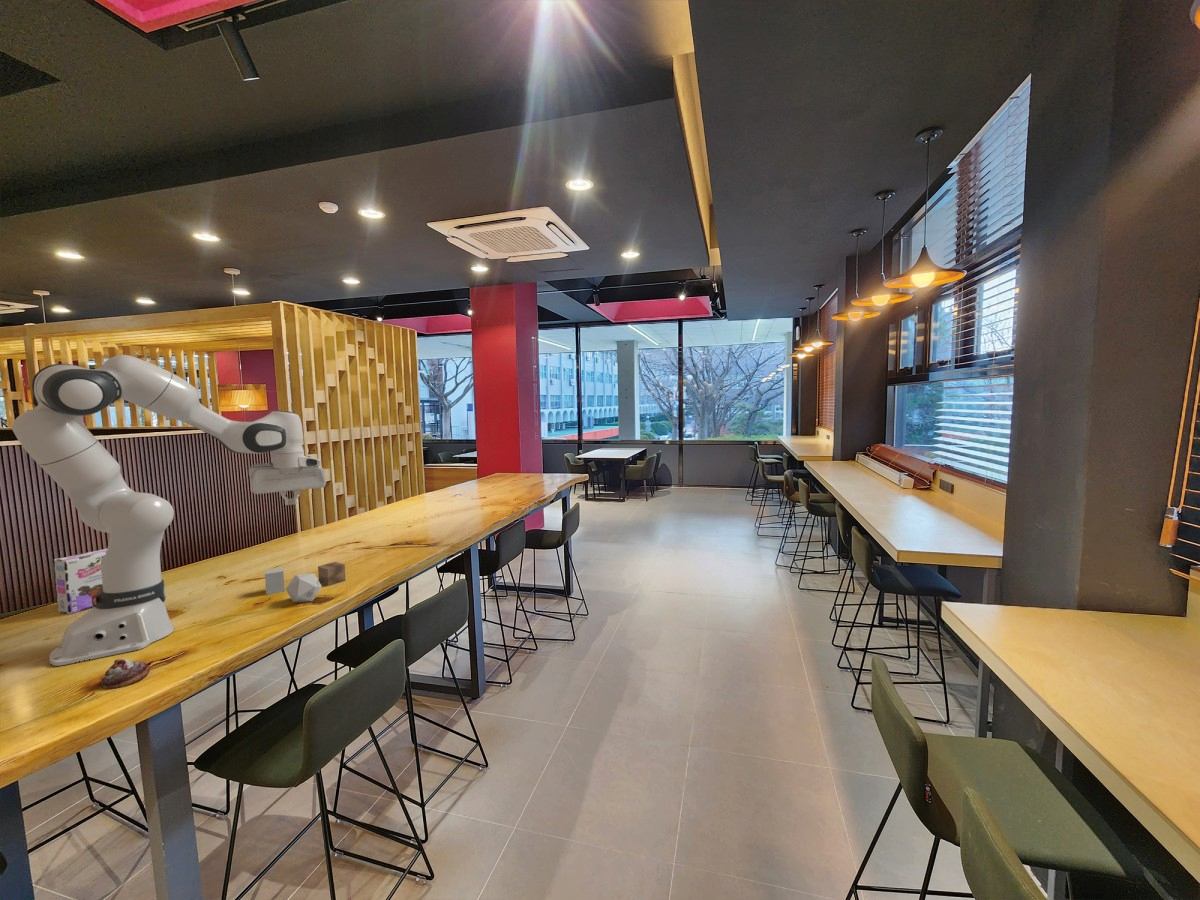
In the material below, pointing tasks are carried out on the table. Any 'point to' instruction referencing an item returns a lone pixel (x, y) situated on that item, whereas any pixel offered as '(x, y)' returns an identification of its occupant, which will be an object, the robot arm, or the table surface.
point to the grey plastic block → (274, 581)
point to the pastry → (124, 674)
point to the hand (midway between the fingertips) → (290, 504)
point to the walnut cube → (331, 573)
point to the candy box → (78, 580)
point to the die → (303, 587)
